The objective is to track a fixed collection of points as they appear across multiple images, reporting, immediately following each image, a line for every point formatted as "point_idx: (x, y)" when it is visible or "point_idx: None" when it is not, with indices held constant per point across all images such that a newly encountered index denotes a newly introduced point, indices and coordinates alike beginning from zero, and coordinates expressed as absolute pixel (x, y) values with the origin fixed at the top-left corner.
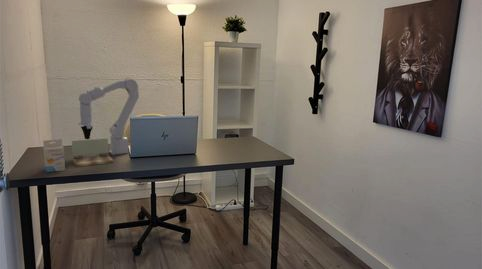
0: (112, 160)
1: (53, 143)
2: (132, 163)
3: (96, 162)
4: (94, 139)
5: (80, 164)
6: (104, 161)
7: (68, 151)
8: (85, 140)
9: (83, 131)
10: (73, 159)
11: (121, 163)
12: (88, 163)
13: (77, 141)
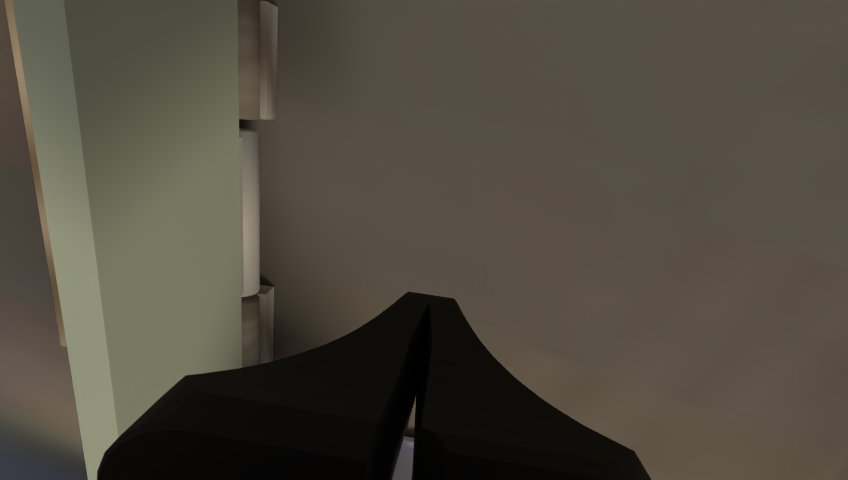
0: (63, 337)
1: None
2: (5, 433)
3: (40, 190)
4: (74, 376)
5: (13, 13)
6: (53, 267)
7: (780, 80)
8: (49, 202)
9: (333, 358)
10: (264, 2)
11: (27, 371)
12: (28, 106)
13: (29, 10)
